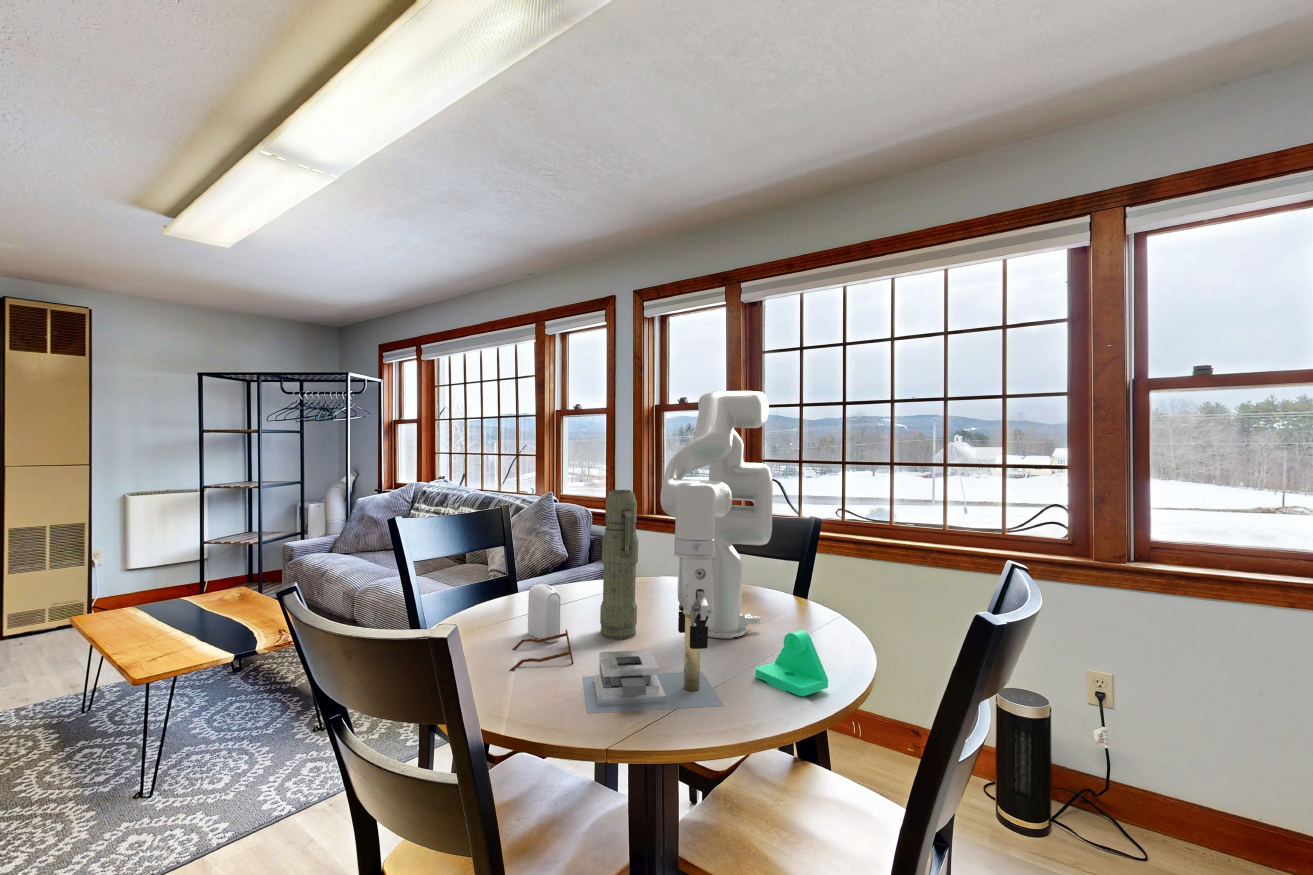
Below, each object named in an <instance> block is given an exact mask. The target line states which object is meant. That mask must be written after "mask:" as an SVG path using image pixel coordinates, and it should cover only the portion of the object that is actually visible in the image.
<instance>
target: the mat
mask: <svg viewBox="0 0 1313 875" xmlns="http://www.w3.org/2000/svg"><path fill="white" fill-rule="evenodd" d="M657 677H658V679H659V682H660V684H661V686H662V688H663V690H664V693H665V695H666V703H649V704H629V705H610V706H598V705H597V699H596V693H595V687H594V675H591V676H589V675H588V676H582V685H583V686H582V687H583V693H584V701H585V710H586V714H601V713H619V712H620V713H621V712H622V713H623V712H624V713H625V712H637V711H639V712H641V711H642V712H643V711H658V710H661V711H662V710H675V709H677V710H678V709H695V708H713V707H715V708H716V707H717V708H718V707H725V704H724V703H723V701H722V700H721V698H720V696H719V695H718V694H717V692H716V691H715V689H714V688H713V686H712V685H711V683H710V682H709V680H708V679H707V677H706V676H705V674H704V672H703V671H701V670H700V689H699V690H698V691H695V692H690V691H686V690H684V671H683V672H681V671H680V672H659V675H657Z"/></svg>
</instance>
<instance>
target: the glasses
mask: <svg viewBox="0 0 1313 875" xmlns="http://www.w3.org/2000/svg"><path fill="white" fill-rule="evenodd" d="M563 637H566V642H567V648H568V651H564V652H561V653H558V654H553V655H549V656H545V657H542V658H534V657H533V658H531V657H529V658H523V659H521V660H520V661H519V662H517V663H516V664H515V665H514V666H512V667H511V668H510V669H509V670H508V672H513V671H514V672H515V670H516V669H517V668H519V667H520V666H521V665H522V664H524V663H530V662H534V663H535V662H536V663H542V662H545V661H549V660H550V661H551V660H554V659H558V658H562V657H566V656H570V661H571V665H573V664H574V658H573V653H572V647H571V642H570V639H569V634H568V629H565V633H560V634H559V635H555V636H551V637H547V638H543V639H538V638H537V639H536V638H525V639H521V640H520V641H519V642H517V644H516V645H515V646H514V647H513V648H512V649H511V651H516V650H517V649H518V648H519V647H520V646H521V645H522V644H524V643H528V642H529V643H530V642H532V643H544V642H545V641H548V640H552V639H556V638H559V639H560V638H563Z"/></svg>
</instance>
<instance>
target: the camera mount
mask: <svg viewBox="0 0 1313 875" xmlns="http://www.w3.org/2000/svg"><path fill="white" fill-rule="evenodd" d="M821 661H822V660H821V659H820V657H819V654H818V652H817V649H816V647H815V645H814V642H813V640H812V638H811V636H810V634H809V633H808V632H807V631H806V630H803V629H799V630H796V631H792V632H789V633H786V635H785V636H784V637H783V647H782V648H781V650H780V652H779V653H778V656H777V657H776V659H774V661H773V662H770V663H766V664H762V665H760V666H756V667H755V677H756V678H757V679H759V680H762V681H764V682H766V684H768V685H769V686H772V687H774V688H777V689H778V690H781V691H784V692H786V693H787V692H789V693H792V694H793V695H796V696H798V697H807V696H809V695H811V694H815V693H816V692H817V693H818V692H820V691H823V690H825V689H828V688H829V679H828V676H827V673H826V671H825V669H824V666H823V664H822V662H821Z"/></svg>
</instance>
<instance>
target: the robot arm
mask: <svg viewBox="0 0 1313 875" xmlns="http://www.w3.org/2000/svg"><path fill="white" fill-rule="evenodd" d="M697 405H698V406H697V408H698V415H697V420H696V424H695V430H694V435H693V440H691V441H690V442H688V443H687V444H686V445H684V446H683V447H681V448H680V449H679V451H677V452H676V453H675V454H674V456H672V457H671V459H670V460H669V462H668V463H667V466H666V469H665V472H664V476H663V480H662V485H661V490H660V499H659V500H660V506H661V508H662V510H663V512H664V513H665V514H667V515H669V516H673V517H675V520H674V521H675V525H674V528H675V529H674V555H673V556H675V557H677V558H678V569H677V570H678V571H677V572H678V573H677V601H678V603H679V604H678V620H677V624H678V625H677V628H678V633H679V634H685V614H683V608H684V609H685V610H686V611H687V612H689V613H690V614H691V621H692V625H691V626H690V648H691V649H701V650H703V649H704V650H705V649H708V646H709V645H708V644H709V643H708V641H709V640H708V639H709V638H713V639H714V638H716V639H734V638H733V637H737V636H741V635H743V634H745V633H746V632H747V633H748V625H760V623H761V618H760V616H759V615H755V616H752V615H751V614H744V613H743V612H742V589H743V586H742V582H743V580H742V579H743V576H742V575H743V562H742V559H741V555H740V554H739V553H738V551H737V550H736V549H735V547H734V546H733V545H750V546H751V545H752V546H763V545H766V544H768V543H769V542H770V540H771V537H772V534H773V533H772V531H773V475H772V471H771V469H770V467H769V466H768V465H767V464H765V463H762V462H761V463H760V462H744V442H743V440H742V438H741V436H740V435H739V434H738V432H737V431H736V430H735V428H736V429H740V428H741V429H758V428H760V427H763V426H764V425H765V423H766V422H767V420H768V417H769V408H770V407H769V401H768V398H767V396H766V394H765V393H764V392H763V391H753V390H719V391H718V390H717V391H711V392H707V393H704V394H703V395H701V396H700V397H699V399H698V403H697ZM706 466H708V468H709V469H708V480H705V479H704V480H703V479H688V478H687V479H683V478H685V476H686V475H688V474H689V473H691V472H693V471H695V470H698V469H700V468H703V467H706ZM733 501H750V502H752V503H753V506H752V505H737V504H734V505H733ZM695 614H697V617H696V618H695ZM747 633H746V634H747ZM746 634H745V635H746Z"/></svg>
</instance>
